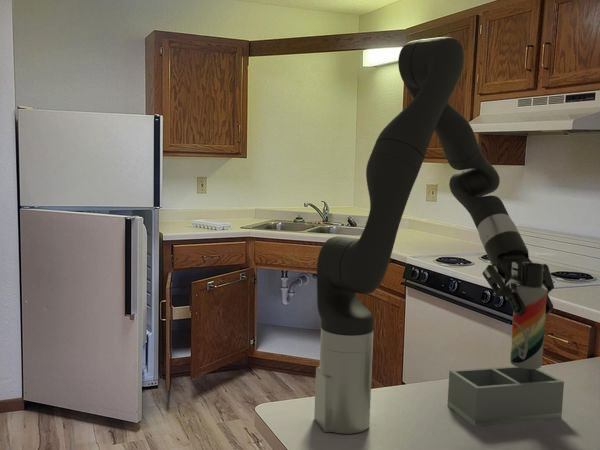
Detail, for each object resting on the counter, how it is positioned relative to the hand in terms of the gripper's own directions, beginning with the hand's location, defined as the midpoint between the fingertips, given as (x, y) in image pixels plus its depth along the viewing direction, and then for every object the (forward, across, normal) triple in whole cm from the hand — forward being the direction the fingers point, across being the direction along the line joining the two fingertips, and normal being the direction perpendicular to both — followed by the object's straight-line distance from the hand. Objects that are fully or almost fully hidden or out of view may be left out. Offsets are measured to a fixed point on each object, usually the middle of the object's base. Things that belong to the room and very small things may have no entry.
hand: (535, 312), depth 110 cm
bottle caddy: (+13, -4, +15) cm, 20 cm away
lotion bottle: (+6, 0, +9) cm, 11 cm away
